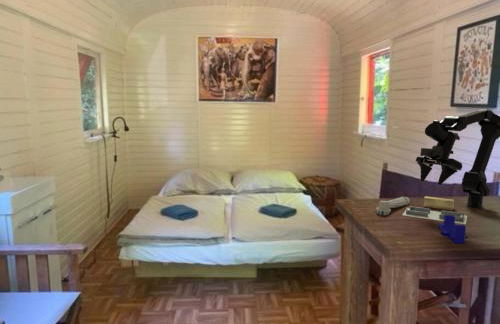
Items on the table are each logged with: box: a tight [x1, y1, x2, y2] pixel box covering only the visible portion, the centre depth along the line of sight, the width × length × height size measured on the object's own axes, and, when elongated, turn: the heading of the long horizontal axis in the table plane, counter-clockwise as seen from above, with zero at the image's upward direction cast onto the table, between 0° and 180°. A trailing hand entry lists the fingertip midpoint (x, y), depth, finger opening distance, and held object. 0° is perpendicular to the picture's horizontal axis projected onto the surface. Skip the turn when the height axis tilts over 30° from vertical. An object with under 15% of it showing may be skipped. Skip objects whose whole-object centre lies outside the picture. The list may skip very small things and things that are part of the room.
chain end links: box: [405, 205, 465, 222], centre depth 148 cm, size 7×20×2 cm, turn 58°
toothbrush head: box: [376, 196, 411, 216], centre depth 158 cm, size 5×7×25 cm
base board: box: [402, 207, 468, 225], centre depth 148 cm, size 12×22×1 cm, turn 58°
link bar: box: [423, 195, 455, 211], centre depth 159 cm, size 3×11×5 cm, turn 57°
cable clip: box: [438, 215, 467, 244], centre depth 128 cm, size 12×4×6 cm, turn 169°
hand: (430, 182), depth 148 cm, fingers open, 9 cm apart
